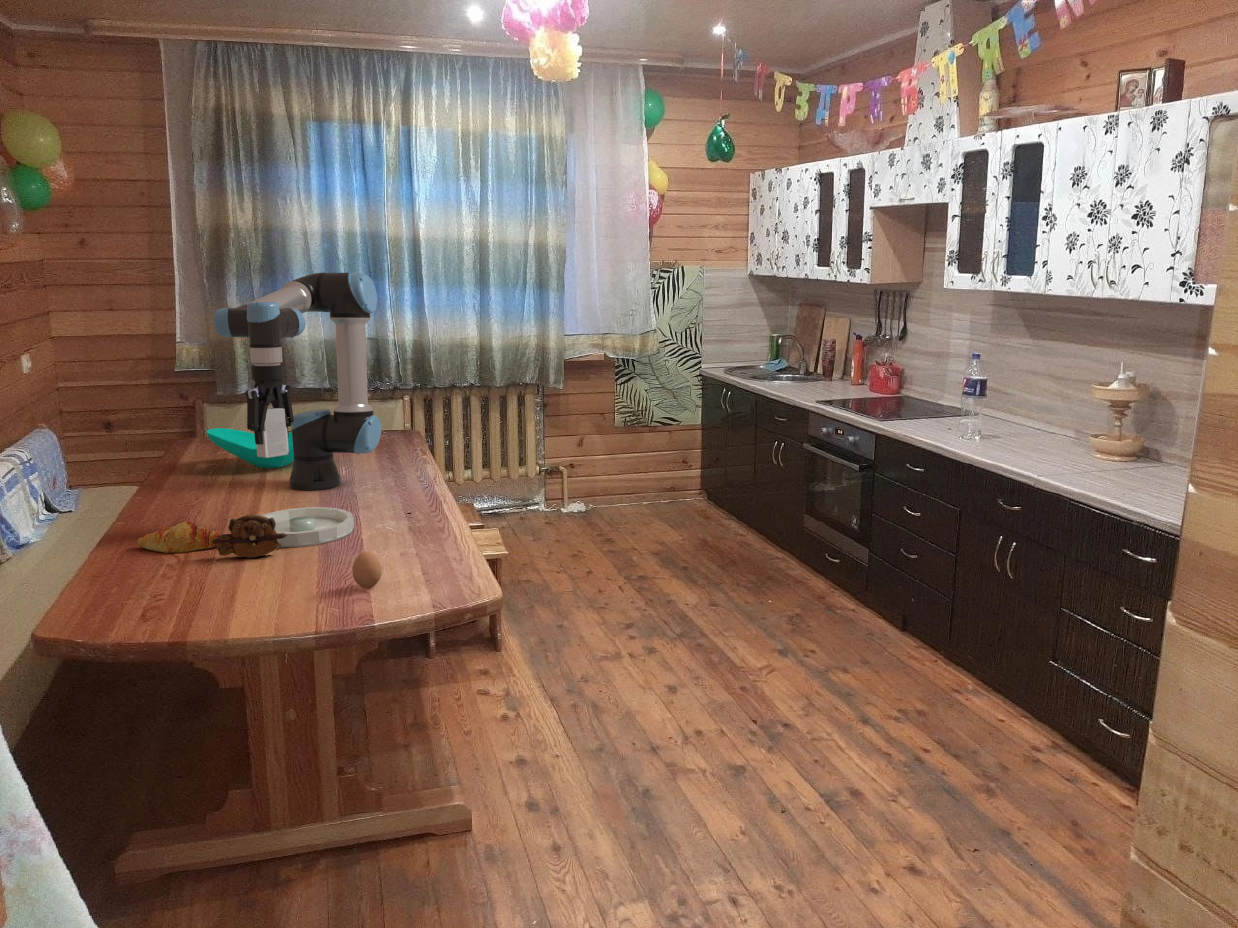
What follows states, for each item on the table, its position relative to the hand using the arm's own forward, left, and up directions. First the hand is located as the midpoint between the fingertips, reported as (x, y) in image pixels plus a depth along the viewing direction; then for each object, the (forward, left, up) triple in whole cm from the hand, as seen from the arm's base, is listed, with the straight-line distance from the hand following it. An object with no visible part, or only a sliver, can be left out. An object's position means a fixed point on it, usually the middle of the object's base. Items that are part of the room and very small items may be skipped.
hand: (273, 454), depth 238 cm
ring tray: (+1, +9, -20) cm, 22 cm away
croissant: (+22, -10, -20) cm, 31 cm away
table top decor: (-60, -53, -20) cm, 83 cm away
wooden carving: (+22, +11, -20) cm, 31 cm away
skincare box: (0, 0, -1) cm, 1 cm away
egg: (+30, +49, -20) cm, 60 cm away
